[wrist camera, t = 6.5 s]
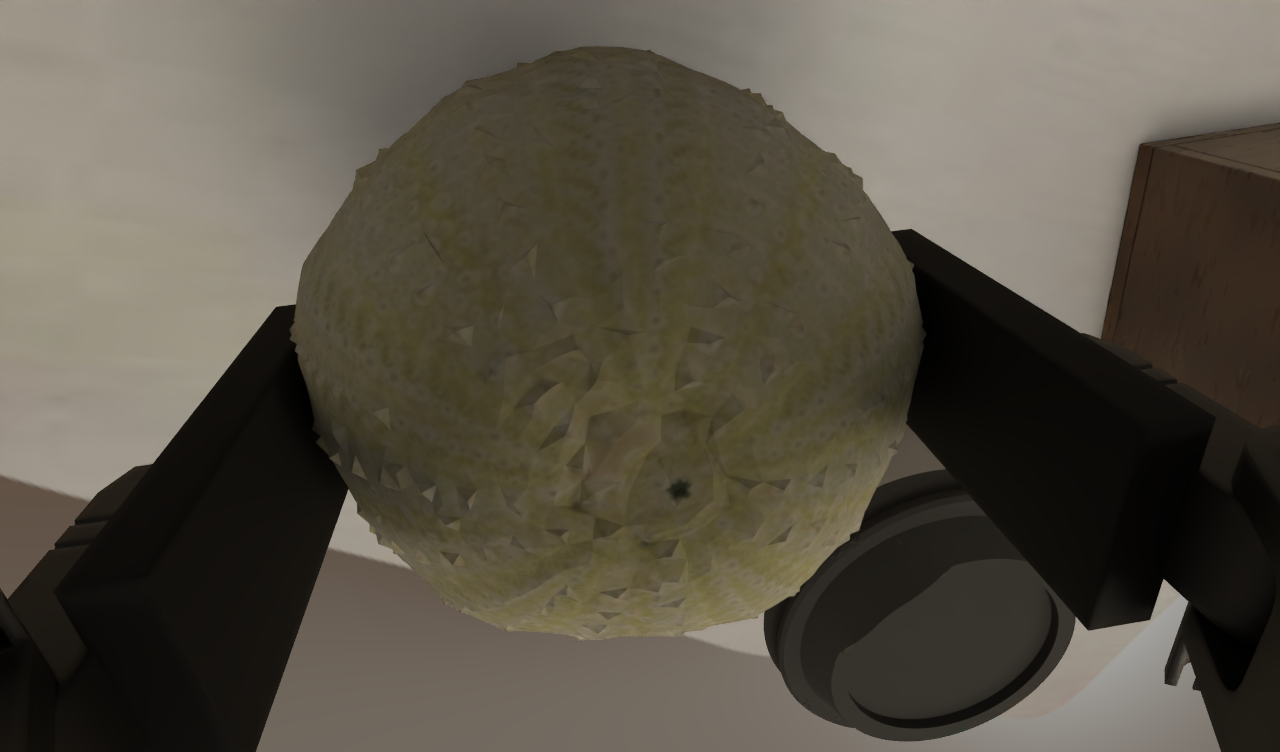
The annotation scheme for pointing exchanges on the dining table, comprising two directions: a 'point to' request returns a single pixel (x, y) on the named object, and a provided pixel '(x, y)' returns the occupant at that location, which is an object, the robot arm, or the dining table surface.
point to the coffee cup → (918, 614)
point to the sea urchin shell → (609, 348)
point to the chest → (1205, 267)
